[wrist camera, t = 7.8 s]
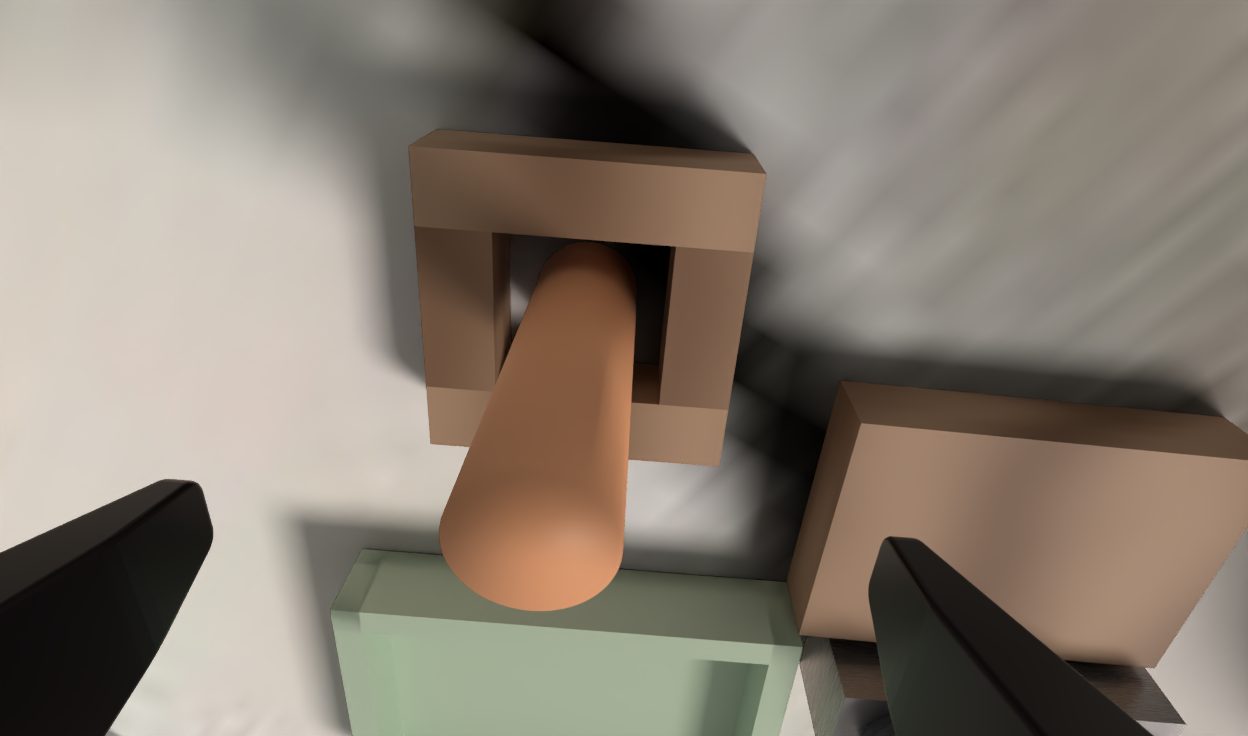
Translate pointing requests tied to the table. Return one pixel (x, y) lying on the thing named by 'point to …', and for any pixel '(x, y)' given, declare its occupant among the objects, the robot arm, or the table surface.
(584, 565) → the dowel
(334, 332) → the table surface
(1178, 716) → the grey boxy piece
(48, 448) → the table surface
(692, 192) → the socket block
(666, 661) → the tray
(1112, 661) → the tan rectangular slab
